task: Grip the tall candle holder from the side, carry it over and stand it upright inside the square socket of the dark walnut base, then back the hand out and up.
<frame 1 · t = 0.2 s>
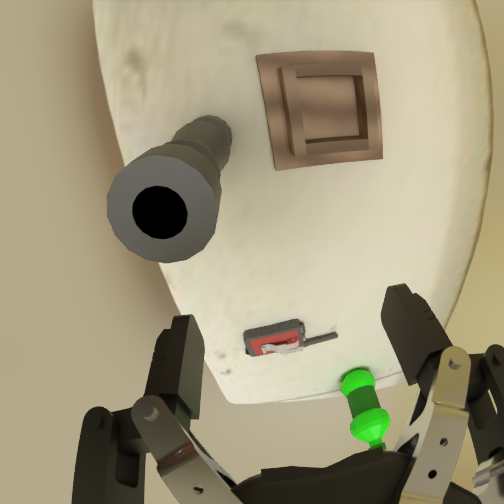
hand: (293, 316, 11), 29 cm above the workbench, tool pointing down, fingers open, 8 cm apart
candle holder: (208, 137, 34), on the workbench
walnut socket base: (324, 106, 32), on the workbench
plastic bottle: (354, 373, 67), on the workbench
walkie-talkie: (289, 332, 55), on the workbench
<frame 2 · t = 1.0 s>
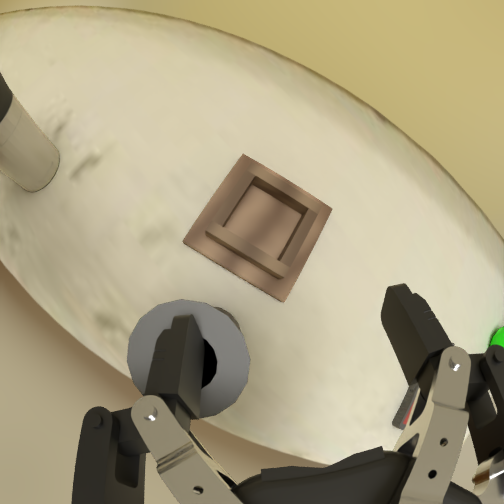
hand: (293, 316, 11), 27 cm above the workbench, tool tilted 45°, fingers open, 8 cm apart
candle holder: (215, 330, 35), on the workbench, touching gripper
walnut socket base: (261, 225, 39), on the workbench
plastic bottle: (493, 344, 44), on the workbench
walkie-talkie: (421, 385, 40), on the workbench
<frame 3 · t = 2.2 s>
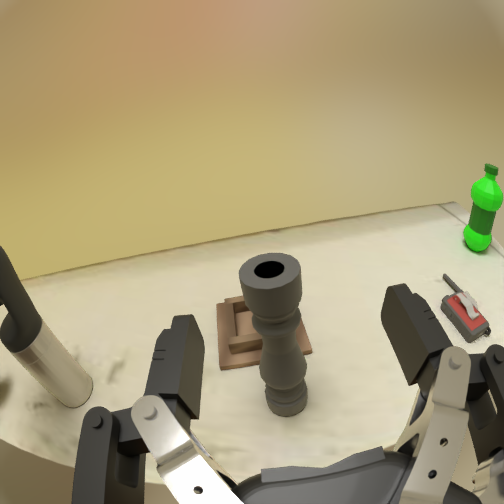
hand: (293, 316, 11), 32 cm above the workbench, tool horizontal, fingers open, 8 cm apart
candle holder: (287, 400, 37), on the workbench
walnut socket base: (260, 329, 51), on the workbench
plastic bottle: (474, 247, 59), on the workbench
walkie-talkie: (457, 310, 45), on the workbench
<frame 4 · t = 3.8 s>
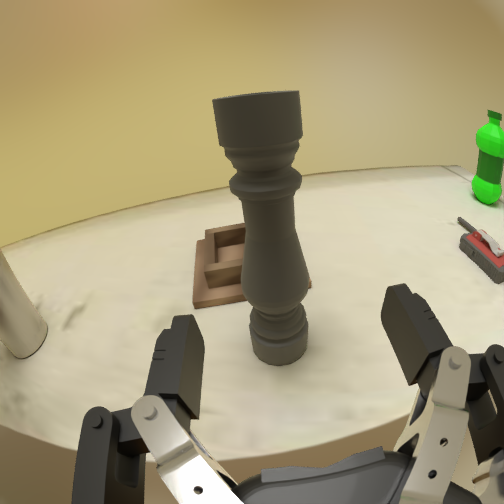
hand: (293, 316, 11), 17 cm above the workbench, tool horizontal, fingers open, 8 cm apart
candle holder: (280, 343, 30), on the workbench
walnut socket base: (246, 264, 43), on the workbench
plastic bottle: (484, 200, 52), on the workbench
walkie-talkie: (477, 253, 37), on the workbench
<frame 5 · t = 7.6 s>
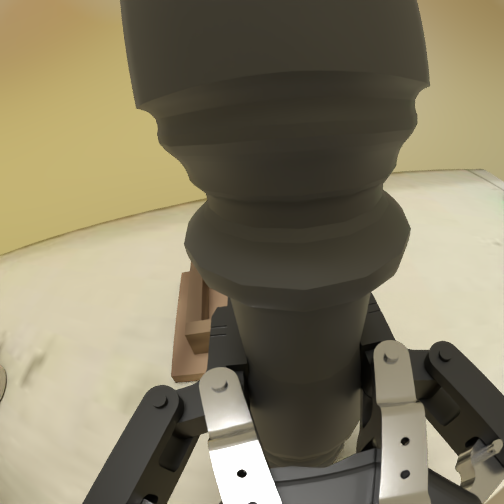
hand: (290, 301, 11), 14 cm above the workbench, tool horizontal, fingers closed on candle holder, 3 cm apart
candle holder: (299, 447, 17), on the workbench, touching gripper
walnut socket base: (249, 311, 30), on the workbench
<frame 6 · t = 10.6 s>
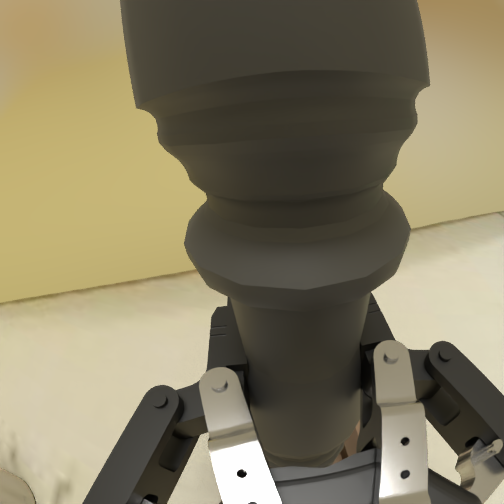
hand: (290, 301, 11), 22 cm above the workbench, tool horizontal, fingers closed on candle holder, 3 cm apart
candle holder: (299, 446, 17), point 8 cm above the workbench, touching gripper
walnut socket base: (297, 461, 21), on the workbench
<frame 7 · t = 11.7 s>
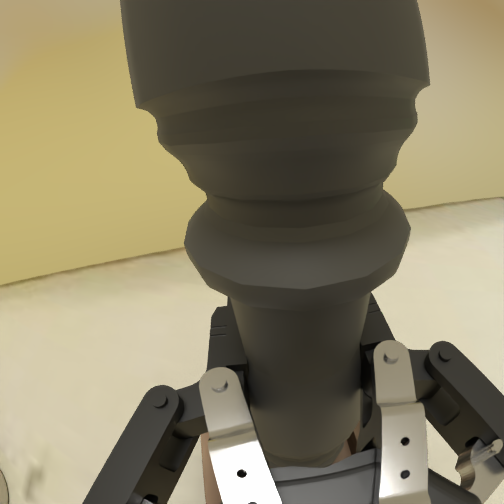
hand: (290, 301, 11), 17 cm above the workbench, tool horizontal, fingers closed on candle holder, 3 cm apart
candle holder: (299, 446, 17), point 3 cm above the workbench, touching gripper
walnut socket base: (296, 451, 18), on the workbench
when the fingers open (16 cm above the workbench, at t = 12.2 s): candle holder drops 1 cm, resting on walnut socket base.
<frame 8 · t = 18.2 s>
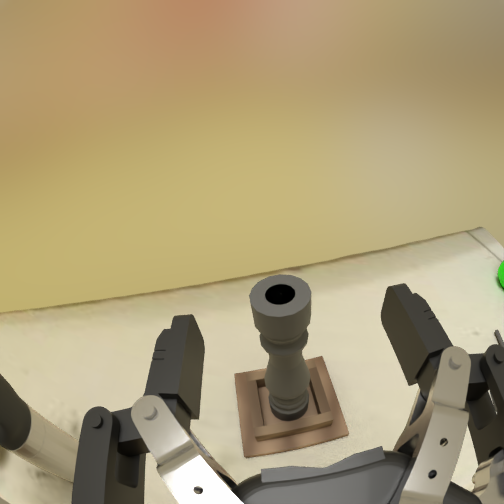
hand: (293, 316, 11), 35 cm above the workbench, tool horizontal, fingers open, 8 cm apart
candle holder: (289, 405, 38), point 1 cm above the workbench, touching walnut socket base
walnut socket base: (287, 406, 39), on the workbench
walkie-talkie: (497, 373, 32), on the workbench
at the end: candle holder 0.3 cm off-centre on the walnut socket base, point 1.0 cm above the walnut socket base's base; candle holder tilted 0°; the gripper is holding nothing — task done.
